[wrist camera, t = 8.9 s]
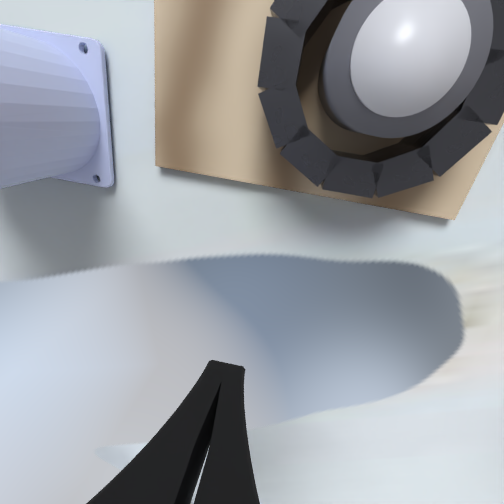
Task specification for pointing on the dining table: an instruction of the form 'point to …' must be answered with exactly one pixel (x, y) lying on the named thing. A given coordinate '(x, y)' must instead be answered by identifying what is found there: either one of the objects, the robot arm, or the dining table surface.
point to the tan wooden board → (251, 111)
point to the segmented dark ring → (383, 160)
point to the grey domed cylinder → (403, 63)
